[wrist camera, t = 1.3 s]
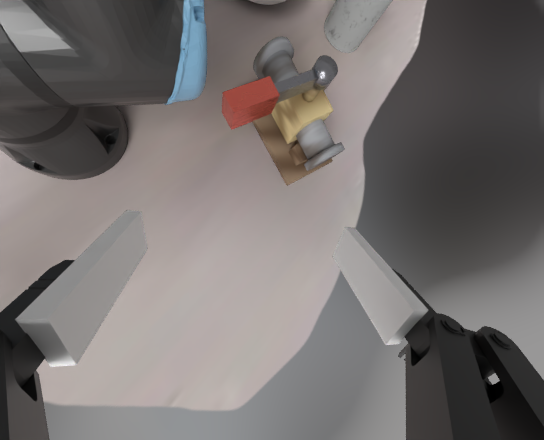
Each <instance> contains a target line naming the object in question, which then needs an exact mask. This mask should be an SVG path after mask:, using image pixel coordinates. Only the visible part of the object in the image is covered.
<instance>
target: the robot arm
mask: <svg viewBox="0 0 544 440" xmlns="http://www.w3.org/2000/svg"><path fill="white" fill-rule="evenodd" d="M206 74H207V33H206V24H205V21H204V0H0V149H1V150H2V151H3V152H4V153H5V154H7V155H8V156H9V157H10V158H12V159H13V160H14V161H16V162H17V163H19V164H21V165H22V166H24V167H26V168H28V169H30V170H33V171H35V172H38V173H41V174H44V175H47V176H50V177H54V178H58V179H67V180H78V179H86V178H90V177H94V176H96V175H99V174H101V173H103V172H105V171H107V170H108V169H110V168H111V167H112V166H114V165H115V164H116V163H117V162H118V161H119V159H120V158H121V157H122V155H123V153H124V151H125V149H126V145H127V140H128V131H127V126H126V123H125V120H124V118H123V116H122V114H121V113H120V111H119V110H118V109H117V107H116V106H115V105H141V104H165V105H168V104H171V103H173V102H178V101H187V100H193V99H195V98H197V97H198V96H200V95H201V93H202V92H203V89H204V86H205V82H206ZM147 249H148V247H147V241H146V236H145V230H144V224H143V218H142V212H141V211H131V210H126V211H125V212H124V213H123V214H122V215H121V216H120V217H119V218H118V219H117V220H116V221H115V222H114V223H113V224H112V225H111V226H110V227H109V228H108V229H107V230H106V231H105V232H104V233H103V234H102V235H101V236H100V237H99V238H98V239H96V240H95V241H94V242H93V243H92V244H91V245H90V246H89V247H88V248H87V249H86V250H85V251H84V252H83V253H82V254H81V255H80V256H79V257H78V258H77V259H76V260H64V261H62V262H61V263H59V264H57V265H55V266H53V267H52V268H50V269H49V270H48V271H46V272H45V273H44V274H43V275H42V276H41V277H40V278H39V279H38V281H35V282H34V283H33V284H32V285H31V286H30V287H29V289H28V290H25V291H24V292H23V293H22V294H21V295H20V296H18V297H17V298H16V299H15V300H14V301H13V302H12V303H11V304H9V305H8V306H7V307H6V308H5V309H4V310H3V311H2V312H0V440H49V434H48V428H47V422H46V416H45V409H44V403H43V397H42V391H41V385H40V379H39V374H38V373H37V371H36V369H37V368H38V367H39V365H40V364H41V363H42V361H43V360H44V359H46V361H47V362H48V363H49V365H50V366H51V367H53V366H69V365H77V363H78V362H79V360H80V359H81V357H82V355H83V354H84V352H85V350H86V349H87V347H88V345H89V344H90V342H91V341H92V339H93V337H94V336H95V334H96V332H97V331H98V329H99V327H100V326H101V324H102V323H103V321H104V319H105V318H106V316H107V314H108V313H109V311H110V310H111V308H112V306H113V305H114V303H115V301H116V300H117V298H118V296H119V295H120V293H121V292H122V290H123V288H124V287H125V285H126V283H127V282H128V280H129V278H130V277H131V275H132V274H133V272H134V270H135V269H136V267H137V265H138V264H139V262H140V261H141V259H142V257H143V256H144V254H145V252H146V251H147ZM333 258H334V260H335V261H336V263H337V265H338V266H339V268H340V270H341V271H342V273H343V275H344V276H345V278H346V280H347V281H348V283H349V285H350V286H351V288H352V290H353V291H354V293H355V295H356V297H357V298H358V300H359V301H360V303H361V305H362V307H363V308H364V310H365V312H366V313H367V315H368V317H369V318H370V320H371V322H372V323H373V325H374V327H375V328H376V330H377V332H378V333H379V335H380V336H381V338H382V340H383V342H384V343H385V345H394V344H399V343H400V342H401V341H402V339H403V338H404V337H405V338H406V340H407V341H408V344H407V345H406V346H405V347H404V349H403V350H402V351H401V352H400V353H399V355H398V357H400V358H401V357H402V356H403V355H404V354H406V358H405V359H404V360H405V361H406V440H544V380H543V379H542V378H541V376H540V375H539V374H538V372H537V371H536V370H535V369H534V367H533V366H532V365H531V363H530V362H529V361H528V359H527V358H526V357H525V356H524V354H523V353H522V352H521V350H520V349H519V348H518V346H517V345H516V344H515V343H514V342H513V341H512V340H511V339H509V338H508V337H507V336H506V335H505V334H503V333H501V332H500V331H498V330H496V329H493V328H491V327H487V326H484V327H482V328H481V329H479V330H478V331H477V332H474V331H470V330H467V329H464V328H463V327H462V326H461V325H460V324H459V323H458V322H456V321H455V320H454V319H452V318H450V317H449V316H446V315H444V314H437V313H436V312H435V311H434V310H433V309H432V308H431V307H430V306H429V304H428V303H427V302H426V301H425V300H424V299H423V298H422V297H421V296H420V295H419V294H418V293H417V292H416V290H414V288H413V287H412V286H411V285H410V284H408V282H407V281H406V280H405V279H404V277H402V275H400V274H399V273H397V272H396V271H395V270H394V269H391V268H390V267H389V266H388V265H387V263H386V262H385V261H384V260H383V259H382V258H381V257H380V256H379V254H378V253H376V251H375V250H374V249H373V248H372V247H371V246H370V244H368V242H367V241H366V240H365V239H364V238H363V237H362V236H361V235H360V233H359V232H358V231H357V230H356V229H355V228H350V227H345V228H344V231H343V233H342V235H341V238H340V240H339V242H338V245H337V247H336V250H335V252H334V254H333ZM494 373H496V375H497V376H498V378H499V380H500V381H499V382H497V383H496V384H493V385H492V384H491V382H490V381H489V379H488V377H489V376H491V375H492V374H494Z"/></svg>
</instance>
